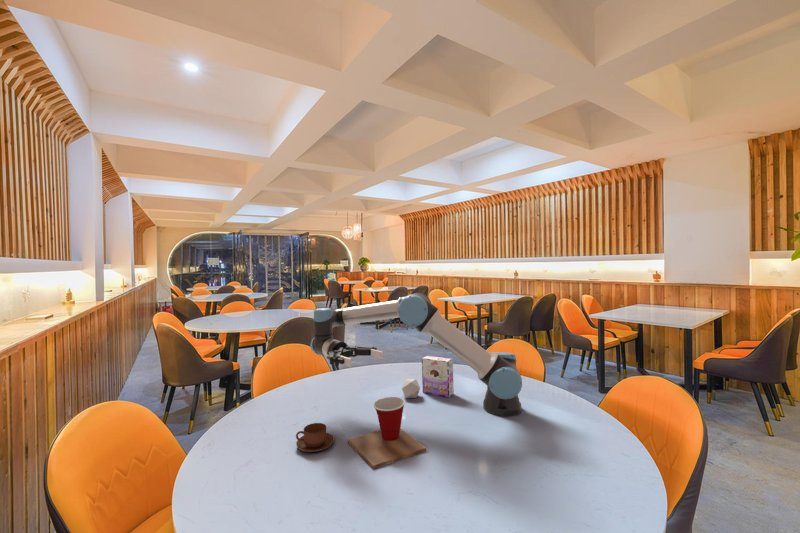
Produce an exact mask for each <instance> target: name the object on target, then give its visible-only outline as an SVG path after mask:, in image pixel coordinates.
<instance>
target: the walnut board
mask: <svg viewBox="0 0 800 533" xmlns="http://www.w3.org/2000/svg"><path fill="white" fill-rule="evenodd" d="M347 443H348V444H349V445H350V446H351V447H352V448H353V449H354V450H355V452H356V453H357V454H359V456H360V457H361V458H362V459H363V460H364V461H365V462H366V464H368V465H369V466H370V467H371V468H372V469H373V470H375V469H378V468H380V467H385V466H386V465H389V464H392V463H395V462H398V461H401V460H404V459H407V458H410V457H412V456H416V455H418V454H422V453H425V452H427V447H426V446H425V445H423V444H422V443H421V442H419V441H418V440H416V439H415V438H414V437H413V436H411V435H410V434H408V433H407V432H406V431H405V430H404V429H402V428H400V433H399V437H398V439H396V440H394V441H386V440H384V439H383V438H382V435H381V429H379V430H375V431H372V432H369V433H365V434H361V435H357V436H354V437H350V438H348V439H347Z"/></svg>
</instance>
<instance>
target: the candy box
mask: <svg viewBox="0 0 800 533" xmlns="http://www.w3.org/2000/svg"><path fill="white" fill-rule="evenodd" d="M421 375H422V376H421V377H422V383H421V384H422V393H423V394H424V393H425V394H428V395H434V396H440V397H446V398H450V397H452V396H453V395H454V394H455V393H454V392H455V391H454V389H455V388H454V359H453V358H450V357H449V358H448V357H441V356H432V355H426V356H423V357H422V358H421Z"/></svg>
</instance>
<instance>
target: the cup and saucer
mask: <svg viewBox="0 0 800 533" xmlns="http://www.w3.org/2000/svg"><path fill="white" fill-rule="evenodd" d="M300 434H302V435H303V436H301V437H299V435H300ZM295 438H296V440H297V441H296V442H295V443H296V447H297V448H298V449H299V450H300V451H303V452H306V453H316V452H320V451H324V450H326V449H328V448H329V447H331V446H332V444H333V443H334V441H335V440H334V439H335V438H334V436H333V434H331V433H328V432H327V425H326V424H325V423H321V422H314V423H309V424H307V425H305V426H304V428H303V430H300V431H297V433H296V434H295Z"/></svg>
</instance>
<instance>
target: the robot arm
mask: <svg viewBox="0 0 800 533" xmlns="http://www.w3.org/2000/svg"><path fill="white" fill-rule="evenodd" d="M395 318H396V319H397V318H399V319H400V321H401V322H402V323H403V324H405V325H406V326H409V327H413V328H414V329H416V331H418V332H419V333H420V334H424V333H425V334H428V335H429V336H431V337H432V338H433V339H434V340H435V341H437V342H438V343H439V344H441V345H442V346H443V347H445V349H446V350H448V351H450V352H451V353H452V354H453V355H455V356H456V357H457V358H459V359H460V360H461V361H462V362H463V363H465V364H466V365H467V366H469V367H470V368H471V369H472V370H473V371H475V372H476V373H477V379H478V380H480V381H481V382H482V383H484V384H485V385H486V386H487V387H486V392H485V395H484V399H483V401H482V405H483V410H484V411H485V412H486V413H489V414H492V415H495V416H500V417H501V416H502V417H512V416H513V417H514V416H517V415H519V414H521V413H522V403H521V402H520V397H519V393H520V392H521V391H522V387H523V379H522V378H523V377H522V376H521V373H520V372H519V370H518V368H517V355H516V354H515V353H512V352H508V351H507V352H504V351H491V352H488V351H487V350H486V349H485V348H483V347H482V346H481V345H479V344H478V343H477V342H476V341H474V340H473V339H472V338H471V337H470V336H468V335H466V333H464V332H463V331H461V330H460V329H458V328H457V327H456V326H455V325H454V324H452V323H451V322H450V321H448V320H447V319H446V318H445V317H444V316H442V315H441V312H440V309H439V308H438V307H437V306H435V305H434V304H433V303H432V301H431V300H430V297H429V296H428V295H426V294H424V293H422V292H414V293H411V294H410V293H409V294H407V295H405V296H399V297H398V299H396V300H388V301H381V302H375V303H369V304H368V303H367V304H362V305H355V306H350V307H344V308H334V309H332V308H329V307H321V308H316V309H315V308H314V310H313V319H312V320H313V338H312V339H311V340H310V343H309V345H310V350H311V351H312V352H313V353H315V354H316V355H318V356H322V357H325V358H327V359H328V361H329V364H330V365H334V363H335V366H336V367H337V366H338V367H339V366H340V365H342V366H346V367H348V368H352V363H353V362H352V357H353V358H356V357H357V356H367V357H369V356H370V357H371V358H374V359H379V360H384V351H381V350H378V348H377V347H376V346H358V345H355V346H348V344H347V343H346V342H345V341H342V340H338V339H334V337H333V328H336V327H342V326H347V325H354V324H361V323H367V322H369V323H370V322H374V321H375V322H376V321H382V320H383V321H384V320H391V319H395Z"/></svg>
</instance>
